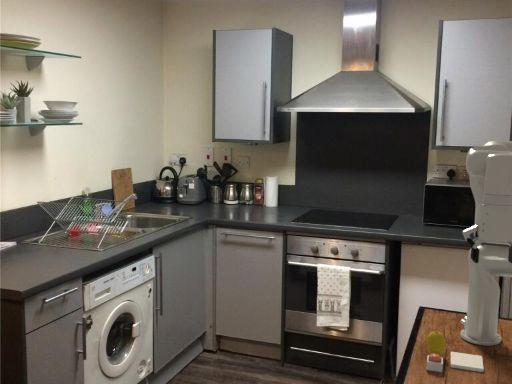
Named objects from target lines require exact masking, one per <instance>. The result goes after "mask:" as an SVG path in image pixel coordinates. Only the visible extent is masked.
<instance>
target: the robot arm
mask: <svg viewBox="0 0 512 384" xmlns="http://www.w3.org/2000/svg"><path fill="white" fill-rule="evenodd" d="M465 168H466V172H467V174H468V176H469V185H470V189H471V192H472V196H473V198H474V202H475V209H474V210H475V211H474V212H475V213H474V225H472V226H471V227H468V228H466V229H464V230H462V232H461V233H462V235H463V238H464V239H465V242H467V243H468V244H469V246H470V247H471V248H470V249H469V251H468V255H467V256H468V257H467V260H468V271H469V273H468V277H469V278H468V279H469V280H468V294H467V295H468V297H467V308H466V309H467V310H466V316H465V317H464V318H463V319H461V320H460V322H459V323H460V324H462V325H463V326H464V328H463V329H461V331H460V333H459V334H460V337H461V338H462V339H463V340H465V341H466V342H469V343H471V344H473V345H474V344H475V345H479V346H490V347H491V346H497V345H499V344H500V343H501V342H502V337H501V335H500V334H499V333H497V332H498V322H499V307H500V296H501V288H500V285H499V283H498V281H497V280H496V279H495V278H494V277H495V276H496V277H505V278H506V277H508V278H512V140H492V141H488V142H486V143H485V144H484V145H482V146H475V147H471V148H469V150H468V151H467V154H466V159H465ZM471 234H473V236H474V238H473V239H472V238H471V236H470V235H471ZM483 243H487V244H483ZM490 244H491V245H490ZM492 244H494V245H492ZM500 245H501V246H500ZM502 245H508V246H502Z"/></svg>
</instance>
